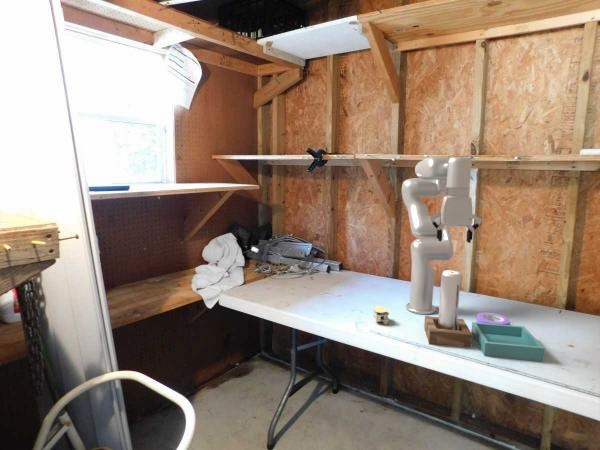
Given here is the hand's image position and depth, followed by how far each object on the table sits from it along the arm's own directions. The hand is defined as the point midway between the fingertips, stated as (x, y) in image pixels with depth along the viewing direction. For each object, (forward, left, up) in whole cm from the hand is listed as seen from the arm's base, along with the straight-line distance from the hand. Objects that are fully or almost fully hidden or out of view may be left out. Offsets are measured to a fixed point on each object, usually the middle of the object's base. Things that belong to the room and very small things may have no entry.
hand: (453, 241), depth 138 cm
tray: (+3, +19, -36) cm, 41 cm away
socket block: (0, 0, -36) cm, 36 cm away
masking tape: (-15, +20, -37) cm, 44 cm away
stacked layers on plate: (-10, -24, -37) cm, 45 cm away
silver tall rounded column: (0, 0, -36) cm, 36 cm away
